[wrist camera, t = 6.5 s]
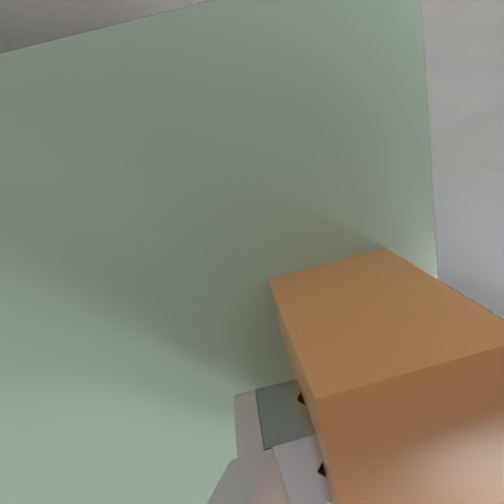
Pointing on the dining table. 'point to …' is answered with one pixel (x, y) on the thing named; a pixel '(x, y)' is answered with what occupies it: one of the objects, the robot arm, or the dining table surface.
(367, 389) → the lid
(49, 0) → the dining table surface
